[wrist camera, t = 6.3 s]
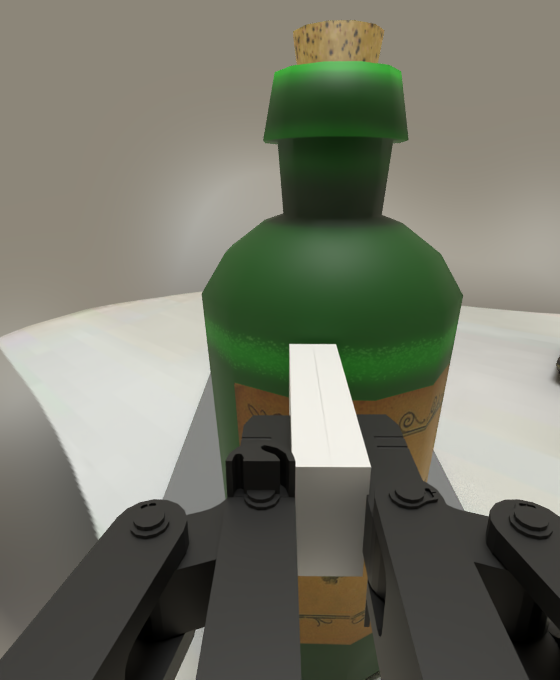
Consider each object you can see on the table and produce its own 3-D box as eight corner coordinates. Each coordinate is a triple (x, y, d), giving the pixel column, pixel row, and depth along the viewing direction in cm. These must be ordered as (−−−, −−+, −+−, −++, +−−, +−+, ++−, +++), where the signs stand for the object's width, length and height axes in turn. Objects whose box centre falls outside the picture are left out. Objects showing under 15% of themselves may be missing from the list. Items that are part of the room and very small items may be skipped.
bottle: (325, 785, 19) (369, -71, 10) (182, 615, 26) (129, 36, 17) (454, 622, 26) (551, 32, 17) (312, 523, 33) (325, 76, 24)
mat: (473, 535, 32) (474, 530, 32) (152, 531, 32) (152, 526, 32) (378, 345, 66) (378, 343, 66) (222, 345, 66) (221, 342, 66)
